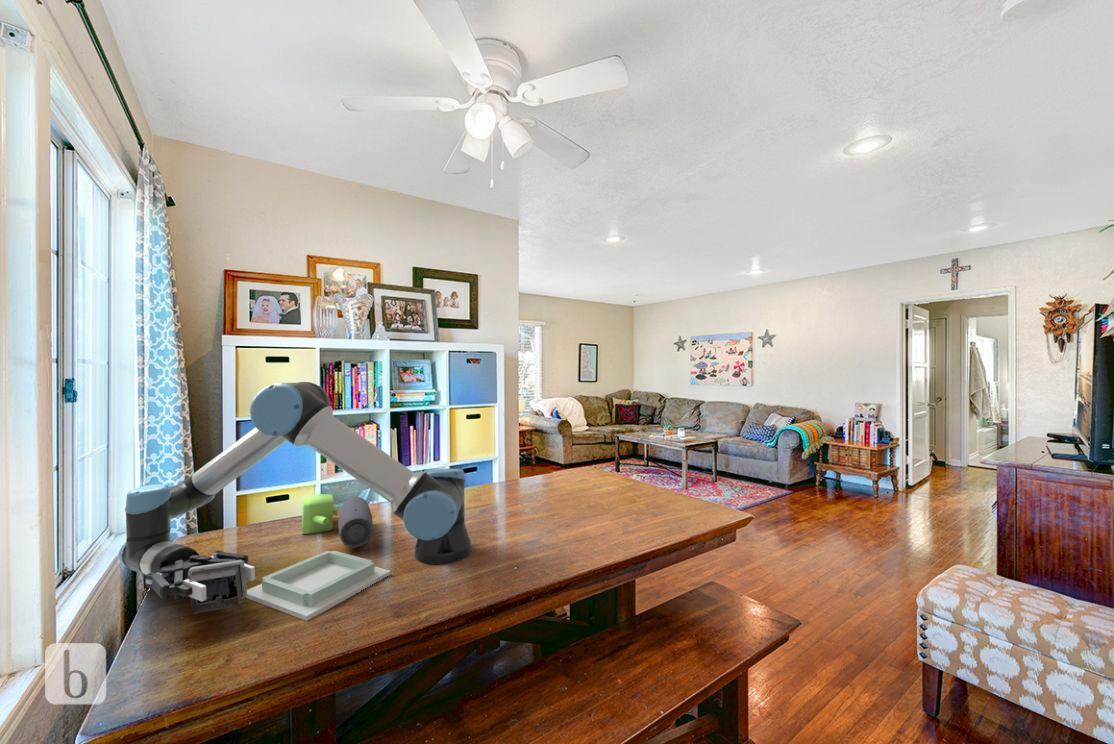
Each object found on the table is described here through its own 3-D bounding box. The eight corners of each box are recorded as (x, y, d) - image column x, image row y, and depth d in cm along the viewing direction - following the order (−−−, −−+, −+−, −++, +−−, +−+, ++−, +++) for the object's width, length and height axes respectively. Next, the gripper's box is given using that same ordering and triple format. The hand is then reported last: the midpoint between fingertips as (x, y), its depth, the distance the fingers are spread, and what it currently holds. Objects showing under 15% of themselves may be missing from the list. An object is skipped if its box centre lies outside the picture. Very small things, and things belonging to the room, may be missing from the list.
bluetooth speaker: (374, 548, 124) (374, 513, 124) (338, 555, 120) (338, 518, 120) (370, 523, 145) (370, 493, 145) (338, 527, 141) (338, 496, 141)
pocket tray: (390, 574, 109) (390, 560, 109) (306, 620, 89) (306, 603, 89) (330, 558, 118) (330, 545, 118) (242, 596, 98) (242, 580, 98)
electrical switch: (248, 596, 95) (246, 555, 94) (242, 610, 90) (240, 567, 89) (193, 606, 91) (191, 563, 90) (184, 621, 86) (181, 576, 85)
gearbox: (338, 535, 135) (340, 505, 135) (301, 540, 130) (303, 508, 130) (335, 517, 151) (336, 489, 151) (302, 521, 146) (303, 492, 146)
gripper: (223, 560, 108) (282, 579, 98) (107, 601, 89) (165, 630, 79) (223, 529, 107) (281, 545, 98) (106, 564, 89) (164, 588, 79)
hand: (229, 583), depth 88 cm, fingers closed on electrical switch, 8 cm apart
